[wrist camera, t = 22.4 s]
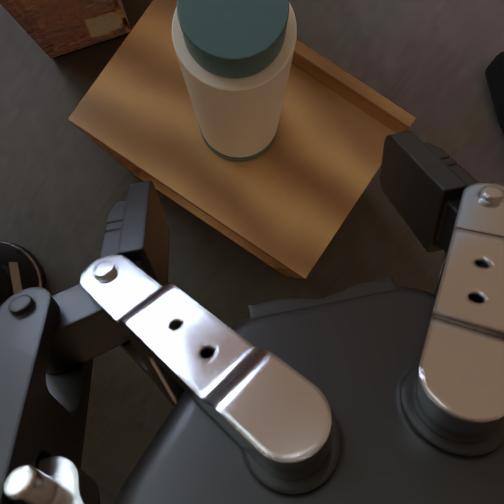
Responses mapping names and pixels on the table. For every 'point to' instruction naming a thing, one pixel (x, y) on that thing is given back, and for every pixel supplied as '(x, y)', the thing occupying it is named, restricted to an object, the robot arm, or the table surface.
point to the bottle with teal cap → (236, 69)
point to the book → (69, 22)
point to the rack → (247, 172)
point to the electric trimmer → (497, 85)
